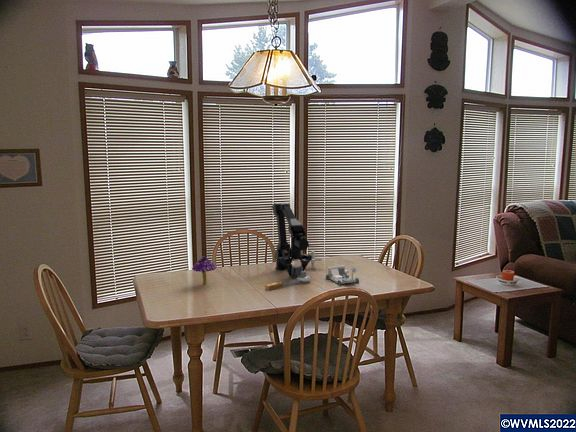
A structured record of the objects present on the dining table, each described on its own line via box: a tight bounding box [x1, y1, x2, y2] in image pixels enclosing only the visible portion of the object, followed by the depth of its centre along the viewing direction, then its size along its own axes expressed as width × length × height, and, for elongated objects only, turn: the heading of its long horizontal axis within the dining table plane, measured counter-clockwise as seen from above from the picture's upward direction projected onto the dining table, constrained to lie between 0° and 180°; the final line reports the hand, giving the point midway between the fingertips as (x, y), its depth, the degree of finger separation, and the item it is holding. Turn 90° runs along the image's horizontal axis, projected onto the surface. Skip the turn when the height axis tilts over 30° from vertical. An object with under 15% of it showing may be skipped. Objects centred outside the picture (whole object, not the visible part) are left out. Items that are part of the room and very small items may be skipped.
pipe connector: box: [309, 250, 322, 269], centre depth 272 cm, size 10×10×10 cm
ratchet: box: [264, 270, 311, 291], centre depth 236 cm, size 28×7×6 cm, turn 128°
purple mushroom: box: [191, 256, 217, 286], centre depth 237 cm, size 12×12×15 cm
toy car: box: [325, 265, 360, 287], centre depth 242 cm, size 18×10×12 cm
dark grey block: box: [288, 264, 303, 279], centre depth 252 cm, size 5×5×6 cm
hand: (296, 274), depth 252 cm, fingers open, 9 cm apart
